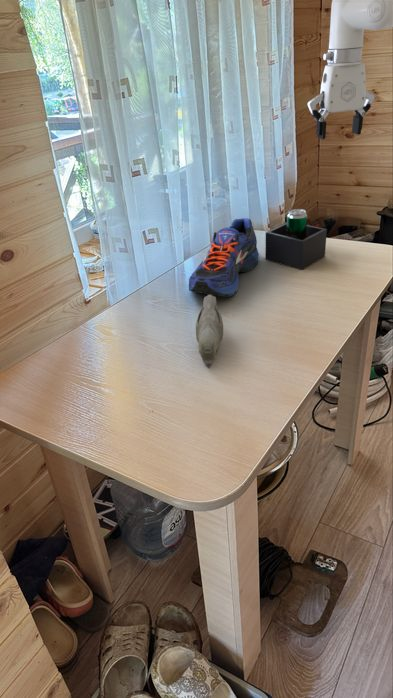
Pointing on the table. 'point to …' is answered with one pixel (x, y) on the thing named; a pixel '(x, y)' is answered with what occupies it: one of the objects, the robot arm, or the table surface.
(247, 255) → the running shoe
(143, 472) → the table surface
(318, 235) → the dark grey open box
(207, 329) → the decorative bird
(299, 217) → the soda can
